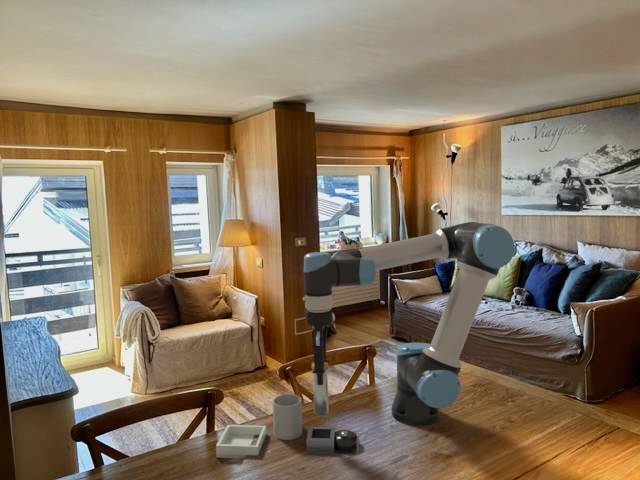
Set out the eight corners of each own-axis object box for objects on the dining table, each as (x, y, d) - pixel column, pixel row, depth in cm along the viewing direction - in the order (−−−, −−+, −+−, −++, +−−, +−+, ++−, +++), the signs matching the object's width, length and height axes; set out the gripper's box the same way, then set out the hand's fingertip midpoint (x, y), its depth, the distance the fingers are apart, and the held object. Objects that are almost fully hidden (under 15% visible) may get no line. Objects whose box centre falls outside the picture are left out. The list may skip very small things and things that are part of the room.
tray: (266, 436, 142) (266, 425, 141) (258, 458, 130) (257, 446, 130) (228, 435, 143) (227, 424, 142) (216, 457, 131) (215, 445, 131)
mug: (301, 442, 138) (300, 406, 137) (272, 443, 138) (270, 406, 137) (303, 422, 150) (302, 388, 149) (276, 423, 150) (275, 389, 149)
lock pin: (330, 408, 137) (328, 360, 135) (329, 415, 132) (327, 366, 131) (314, 408, 137) (312, 360, 136) (312, 415, 132) (310, 366, 131)
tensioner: (358, 438, 140) (358, 424, 139) (358, 458, 130) (358, 442, 129) (310, 437, 141) (309, 423, 140) (306, 456, 131) (305, 441, 131)
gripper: (308, 301, 140) (311, 378, 143) (301, 317, 123) (304, 405, 126) (334, 301, 140) (336, 378, 142) (330, 317, 122) (333, 405, 125)
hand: (321, 390), depth 134 cm, fingers closed on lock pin, 4 cm apart
